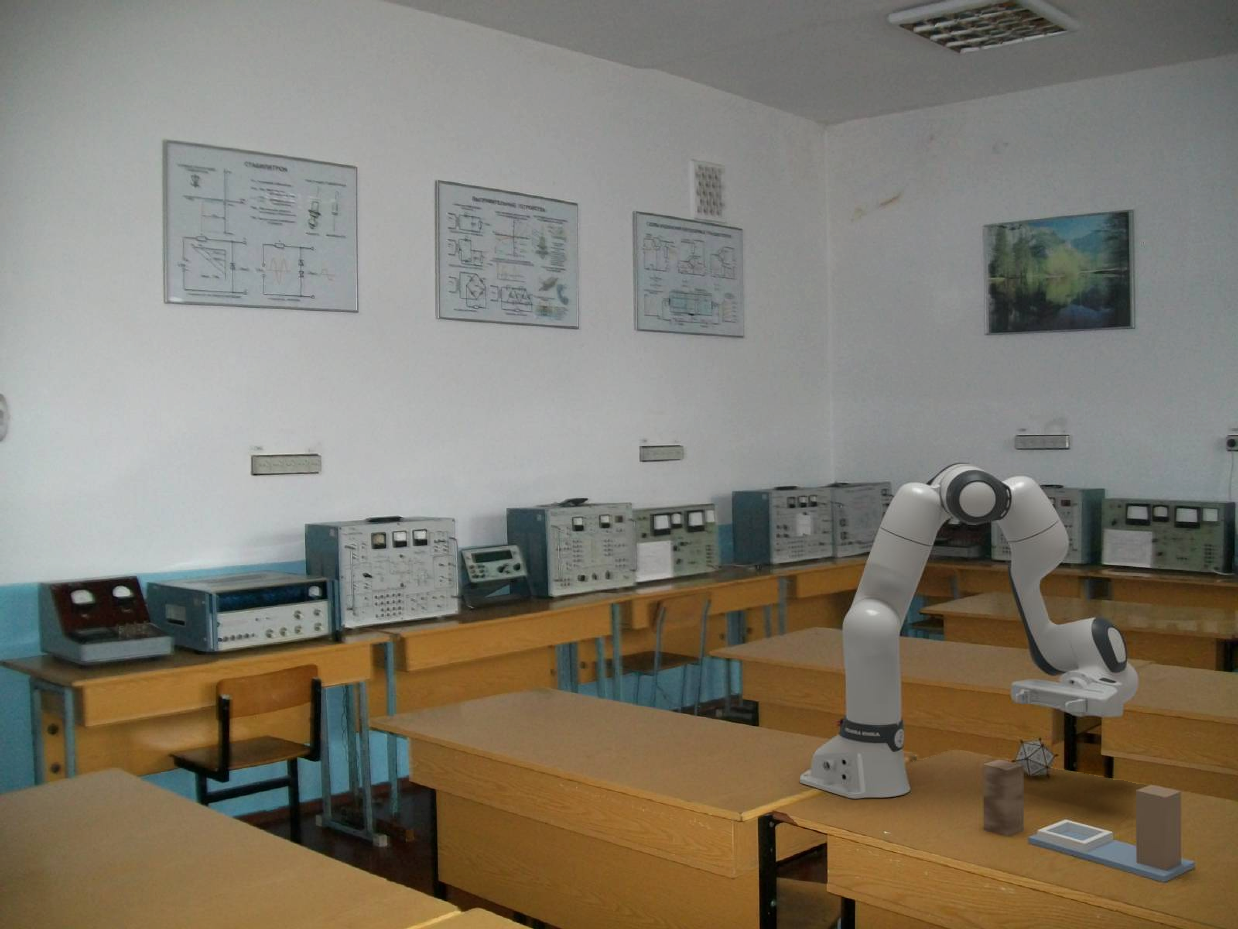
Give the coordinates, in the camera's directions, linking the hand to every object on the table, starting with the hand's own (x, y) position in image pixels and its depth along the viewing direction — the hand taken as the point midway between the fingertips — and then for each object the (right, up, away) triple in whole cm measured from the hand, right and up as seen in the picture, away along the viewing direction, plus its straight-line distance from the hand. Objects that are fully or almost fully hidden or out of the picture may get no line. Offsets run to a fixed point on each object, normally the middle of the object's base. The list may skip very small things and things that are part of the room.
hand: (1041, 703), depth 224 cm
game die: (+8, -21, +26) cm, 34 cm away
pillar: (-9, -22, -7) cm, 25 cm away
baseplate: (+4, -22, -20) cm, 30 cm away
